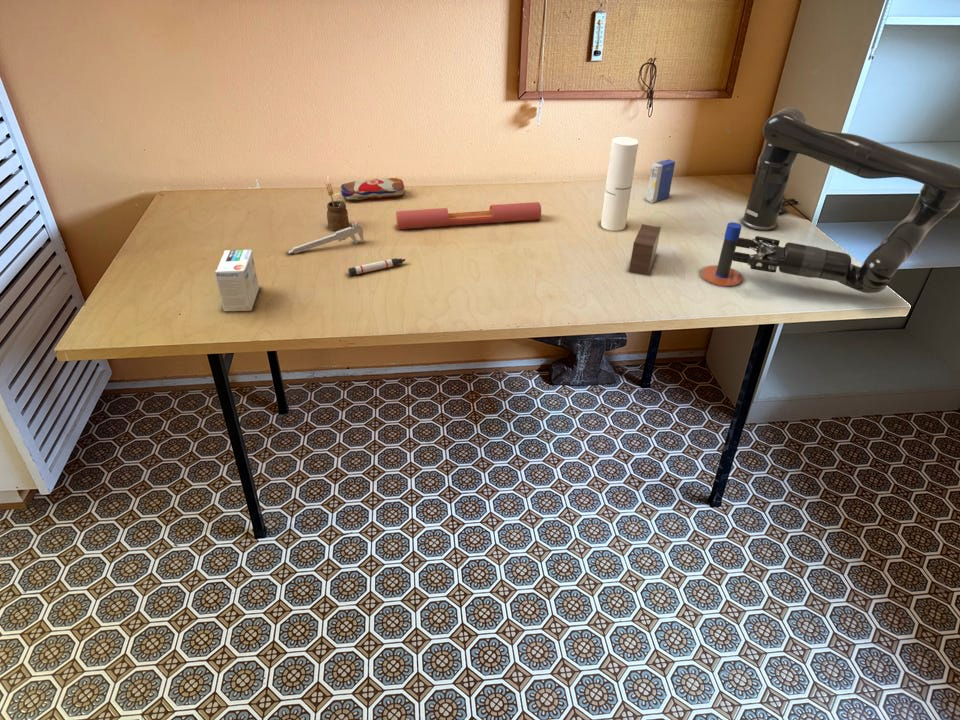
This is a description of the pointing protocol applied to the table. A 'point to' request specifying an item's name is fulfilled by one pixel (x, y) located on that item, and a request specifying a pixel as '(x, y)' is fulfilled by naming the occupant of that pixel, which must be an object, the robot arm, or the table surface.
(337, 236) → the caliper
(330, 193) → the utensil holder
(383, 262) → the marker
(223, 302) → the light bulb box
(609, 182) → the cylindrical container
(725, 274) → the felt marker
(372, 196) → the pencil case
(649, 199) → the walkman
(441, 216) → the blood vessel
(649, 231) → the walnut block
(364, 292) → the table surface
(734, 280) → the coaster
